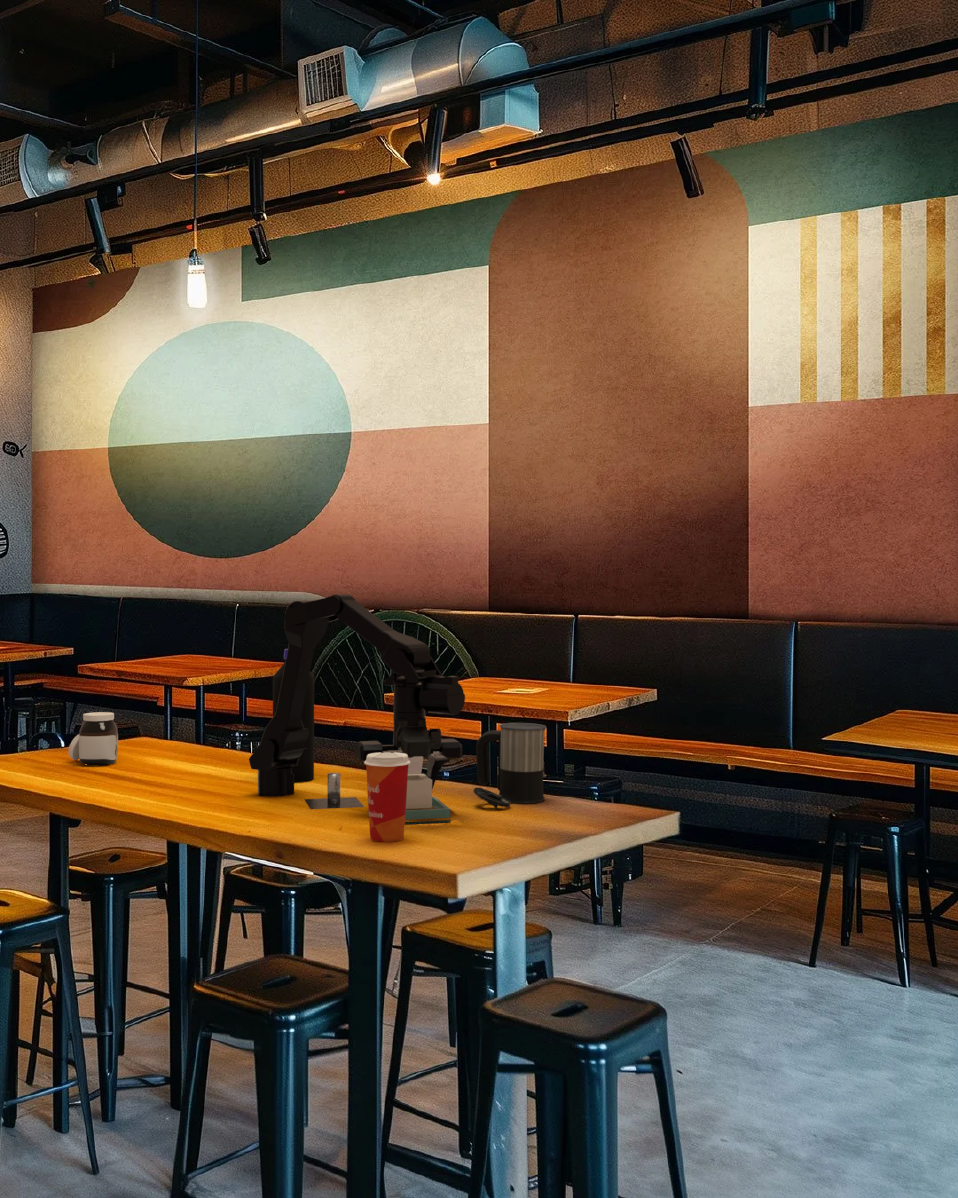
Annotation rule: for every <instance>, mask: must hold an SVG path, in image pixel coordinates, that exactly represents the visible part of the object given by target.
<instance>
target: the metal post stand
mask: <svg viewBox="0 0 958 1198" xmlns="http://www.w3.org/2000/svg"><path fill="white" fill-rule="evenodd" d="M304 802H305V803H306V805H307V806H308V808H309V809H310V810H326V809H327V810H328V809H329V810H330V809H346V808H347V809H348V808H350V809H351V808H365V805H364V804H363V803H362V802H361V801H360V800H359V799H358V798H357V797H356V796H353V797H352V796H351V797H341V773H340V772H328V773H327V796H326V797H324V798H305V799H304Z"/></svg>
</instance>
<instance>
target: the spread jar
mask: <svg viewBox="0 0 958 1198" xmlns="http://www.w3.org/2000/svg"><path fill="white" fill-rule="evenodd" d="M82 719H83V722H82V724H81V727H80V729H79V734H77V735H76V736H74V738H73V739H72V740H71V743H70V744H69V746H68V756H69V758H71V759H72V760H73V761H75V760H78V759H80V761H79V762H80V763H81V764H82V765H83V764H87V765H106V766H109V765H108V764H112V765H114V764H115V763H116V761H117V758H118V755H119V749H118V748H119V732H118V730H119V729H118V727H117V724H116V722H115V721H114V719H115V713H114V712H109V711H108V712H107V711H106V712H105V711H104V712H103V711H99V712H97V711H95V712H87V713H83V715H82ZM113 763H114V764H113Z"/></svg>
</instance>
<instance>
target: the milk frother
mask: <svg viewBox="0 0 958 1198" xmlns="http://www.w3.org/2000/svg"><path fill="white" fill-rule="evenodd" d="M499 727H500V729H498V730H497V729H495V730H492V729H491V730H488V731H486V732H484V733H483V734H481V736H480V737H479V738H478V740H477V743H476V748H475V750H476V751H475V752H476V773H477V781H478V782H477V783H478V784H479V785H480V786H485V785H488V784H489V783H490V760H489V759H490V758H489V757H490V756H489V752H490V751H489V746H490V743H491V742H494V741H495V742H498V760H497V761H498V768H497V770H498V772H497V790H498V791H499V793H495V792H493V791H490V790H488V789H486V788H485V789H484V788H482V787H474V789H473V794H474V795H476V796H477V797H478V798H479V799H482V800H483V801H484V802H486V803H488V804H489V805H490V806H493V807H494V809H497V808H498V807H502V808H509V807H510V806H511V804H537V803H541V802H544V801H545V797H544V756H545V755H544V754H545V752H544V749H545V731H546V729H547V725H544V724H539V723H529V722H507V723H506V722H505V723H501V724H499Z"/></svg>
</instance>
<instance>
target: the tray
mask: <svg viewBox="0 0 958 1198" xmlns="http://www.w3.org/2000/svg"><path fill="white" fill-rule="evenodd" d="M448 818H449V819H448ZM450 818H451V808H450V807H448V806H447V805H446V804H445V803H443V802H442V801H441V800H440V799H439V798H438V797H436V796H432V808H420V809H406V813H405V826H415V825H416V826H417V825H436V824H437V825H438V824H451V819H450ZM428 819H436V820H428ZM437 819H438V820H437ZM439 819H441V820H439ZM407 820H409V821H407ZM410 820H417V821H410ZM420 820H421V821H420Z"/></svg>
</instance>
